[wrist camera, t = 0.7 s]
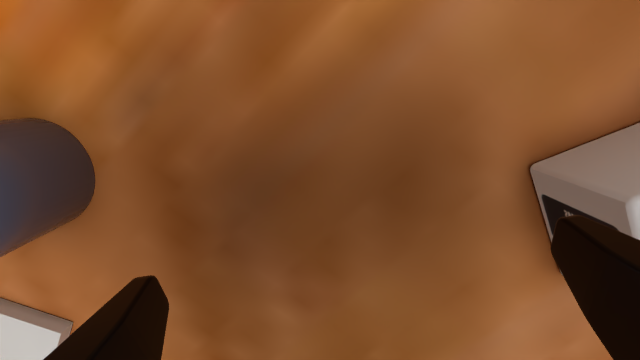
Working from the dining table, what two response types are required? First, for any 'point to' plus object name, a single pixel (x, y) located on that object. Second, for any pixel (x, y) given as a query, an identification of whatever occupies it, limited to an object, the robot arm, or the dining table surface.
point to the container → (594, 182)
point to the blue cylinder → (40, 180)
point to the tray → (29, 332)
